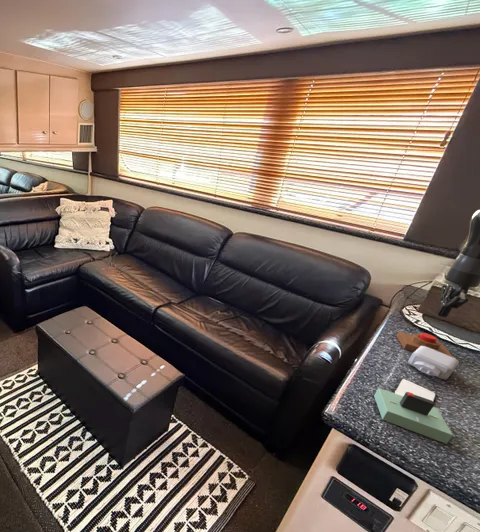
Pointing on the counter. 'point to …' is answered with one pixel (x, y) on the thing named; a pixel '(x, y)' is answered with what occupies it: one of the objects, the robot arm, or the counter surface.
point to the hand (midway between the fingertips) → (441, 315)
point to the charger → (433, 362)
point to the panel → (412, 417)
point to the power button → (428, 337)
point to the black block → (416, 403)
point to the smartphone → (414, 390)
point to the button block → (420, 343)
